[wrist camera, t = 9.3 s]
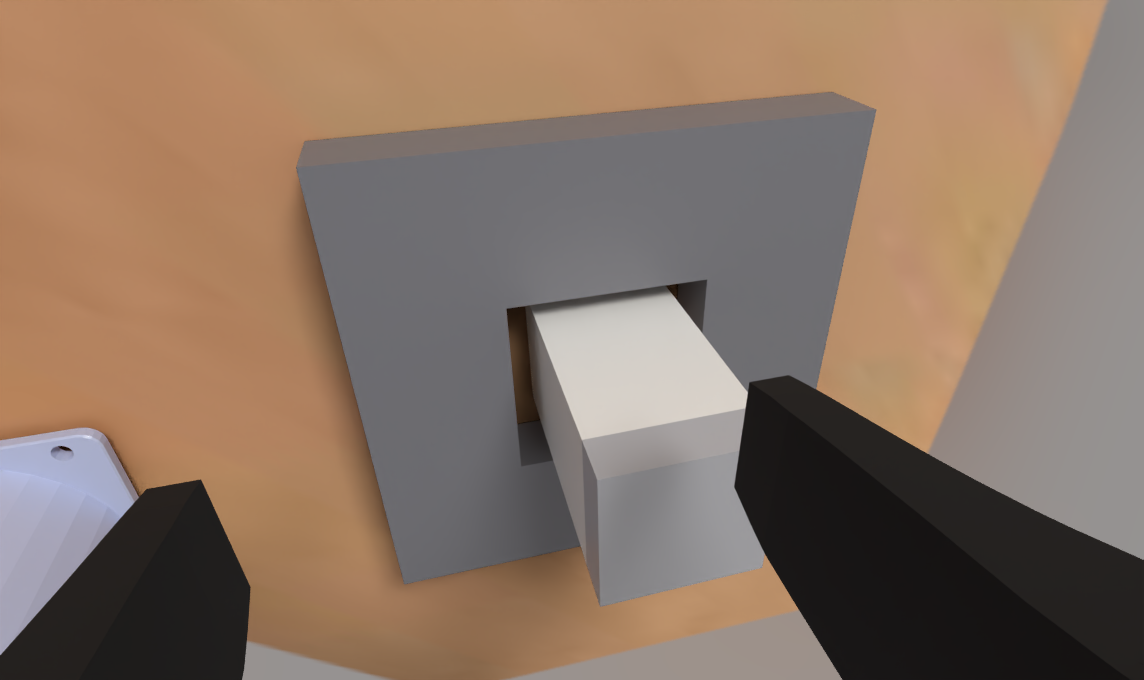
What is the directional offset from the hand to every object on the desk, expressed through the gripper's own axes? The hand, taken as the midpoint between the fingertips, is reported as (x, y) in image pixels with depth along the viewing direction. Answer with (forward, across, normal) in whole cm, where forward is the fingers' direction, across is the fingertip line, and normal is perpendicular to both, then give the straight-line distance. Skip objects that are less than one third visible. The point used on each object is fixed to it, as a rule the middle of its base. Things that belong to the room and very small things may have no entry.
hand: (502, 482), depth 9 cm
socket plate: (+10, -4, +5) cm, 12 cm away
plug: (+10, -4, +5) cm, 12 cm away
